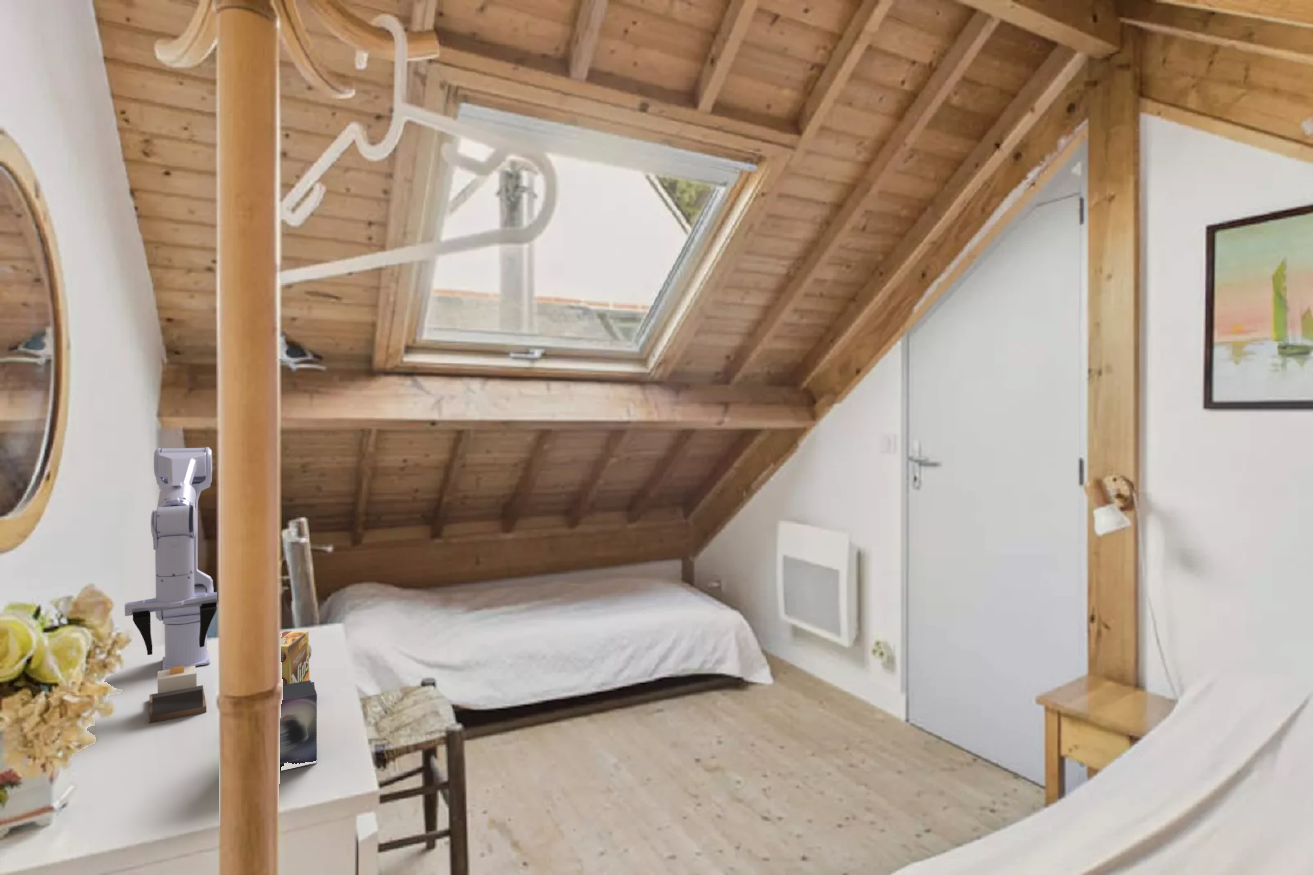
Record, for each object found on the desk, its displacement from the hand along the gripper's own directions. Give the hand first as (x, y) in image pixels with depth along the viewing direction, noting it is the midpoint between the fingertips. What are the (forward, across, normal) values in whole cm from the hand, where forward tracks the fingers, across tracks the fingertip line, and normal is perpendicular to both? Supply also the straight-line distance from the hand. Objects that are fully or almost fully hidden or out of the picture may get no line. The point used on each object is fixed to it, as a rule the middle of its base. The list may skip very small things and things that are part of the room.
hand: (176, 649), depth 128 cm
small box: (+9, +11, -38) cm, 41 cm away
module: (+8, 0, -5) cm, 9 cm away
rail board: (+9, 0, -4) cm, 10 cm away
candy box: (+9, +14, -28) cm, 33 cm away
